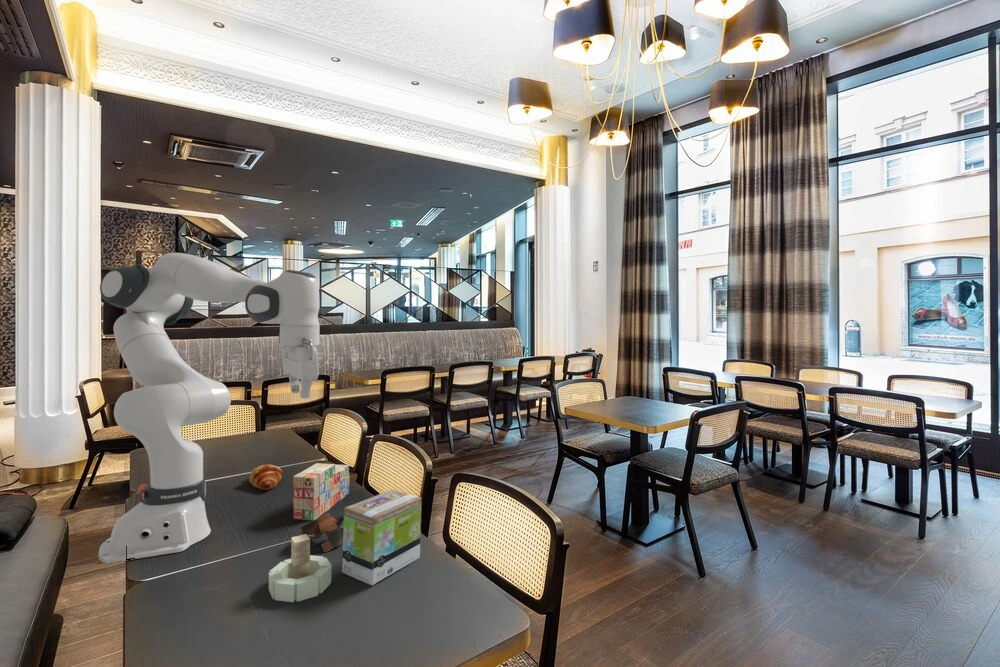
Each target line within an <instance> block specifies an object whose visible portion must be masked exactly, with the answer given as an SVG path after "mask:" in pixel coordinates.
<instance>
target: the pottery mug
mask: <svg viewBox="0 0 1000 667" xmlns="http://www.w3.org/2000/svg"><path fill="white" fill-rule="evenodd" d="M342 522H344V514H343V515H339V516H338V517H332V516H331V513H329V512H328V513H326V514H325V513H324V514H322V515H321V516H319V517H318V518H317V519H315V520H313V521H311V520H310V521H309V522H308V523H306V524H304V525H302V526H301V527H300V530H301V534H300V535H304V534H307V536H315V537H316V538H319V537H322V535H323V534H325V535H326V537H327V538H328V539H327V540H326V541H325V542H323V543H321V544H320V546H321V549H322V551H323V553H327V552H329V551H331V550H333V549H335V548H338V547H340V546H342V545H343V527H341V525H342Z"/></svg>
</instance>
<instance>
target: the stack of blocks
mask: <svg viewBox="0 0 1000 667" xmlns="http://www.w3.org/2000/svg"><path fill="white" fill-rule="evenodd" d="M292 477H293V478H292V480H293V481H292V482H293V484H292V485H293V488H292V500H293V501H292V502H293V505H292V506H293V509H292V513H293V514H292V515H293V516H292V518H293V520H302V521H310V522H311V521H313V520H315V519H318V518H319V517H321V516H323V515H324V514H325V513H326V512H328V511H329V510H330V509H331V508H333V507H334V506H335V505H336V504H337V503H339V502H340V501H342V500H343V499H344V498H345V497H347V496H348V495H349V494H350V465H348V464H336V463H335V464H334V463H318V462H316V463H315V464H312V465H311V466H309V467H307V468H305V469H304V470H303V471H300V472H298V473H297V474H295V475H293V476H292ZM346 495H347V496H346ZM338 501H339V502H338Z"/></svg>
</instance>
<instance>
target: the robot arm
mask: <svg viewBox="0 0 1000 667" xmlns="http://www.w3.org/2000/svg"><path fill="white" fill-rule="evenodd" d="M99 291H100V296H101V298H102V299H103V301H105V302H106V303H108V304H109V305H111V306H114V307H116V308H119V309H125V310H127V313H124V314H122V315H120V316H119V317H118V318H117V319H116V321H114V324H113V334H114V339H115V343H116V345H117V349H118V351H119V353H120V355H121V357H122V360H123V361H124V363H125V365H126V368H127V369H128V371H129V374H130V375H131V377H132V379H134V381H136V382H137V383H138V384H140V385H142V386H143V387H140V388H139V387H138V388H136V389H132V390H130V391H126V392H123V393H121V395H120V396H119V397H118V398H117V401H115V405H114V408H113V417H114V421H115V423H116V424H117V425H118V427H120V429H121V430H123V431H124V432H126V433H128V434H130V435H132V436H134V437H135V438H136V439H138V440H139V441H140V442H141V444H142V445H143V447H144V448H145V450H146V453H147V455H148V461H149V462H148V463H149V479H150V482H149V484H147V483H142V484H140V485H139V486H138V488H137V489H138V490H137V491H138V493H139V501H140V502H138V503H137V504H136V505H135V506H133V507H132V508H131V509H130V510H128V511H127V512H126V513H124V514H123V515H121V516H120V517H119V518H118V519H117V521H116V522H115V524H114V525H113V527H112V530H111V534H110V537H109V538H107V539H106V540H105V541H103V543H102V544H100V547H99V549H98V553H97V554H98V555H97V557H98V559H99V561H100V562H102V563H104V564H111V563H112V564H113V563H117V562H118V563H119V562H123V561H127V560H126V546H127V559H128V558H129V559H130V558H135V559H134V560H136V559H144V558H150V557H156V556H161V555H169V554H174V553H179V552H183V551H185V550H186V549H188V548H190V546H192V545H194V544H196V543H198V542H200V541H202V540H204V539H205V538H207V537H208V536H209V535H210V534H211V532H212V529H211V527H210V523H209V520H208V517H207V512H206V505H205V500H206V496H207V494H206V493H207V486H206V485H207V484H206V483H207V482H206V479H205V477H204V451H203V449H202V447H201V446H200V444H198V443H196V442H195V441H191V440H188V439H184V438H183V437H182V433H181V428H182V427H188V426H192V425H197V424H204V423H208V422H210V421H212V420H216V419H218V418H220V417H223V416H225V414H227V412H228V411H229V409H230V406H231V403H232V399H231V398H232V396H231V393H230V391H229V389H228V387H227V386H226V385H225V384H224V383H222V382H220V381H217V380H214V379H211V378H210V377H207V376H205V375H203V374H201V373H200V372H198V371H197V370H195V369H194V368H192V367H191V366H190V365H189V364H187V362H186V361H184V360H183V358H182V357H181V356H180V354H179V353H178V351H177V349H176V348H175V346H174V344H173V342H172V341H171V339H170V337H169V336H168V334H167V332H166V330H165V327H164V326H171V325H173V324H176V323H177V321H178V320H180V319H182V318H183V317H185V316H186V315H187V314H188V313H189V312H191V309H192V307H193V305H194V300H195V301H201V302H207V303H209V302H210V303H214V302H215V303H244V305H245V306H244V308H245V311H246V313H247V316H248V317H249V318H250V319H251V320H252V321H253V322H256V323H260V324H265V325H266V324H268V325H271V324H272V325H278V324H279V335H278V344H279V346H280V352H281V364H282V370H283V372H284V373H285V374H287V375H288V379H289V385H290V392H291V393H293V394H298V393H299V394H300V396H299V397H300V398H302V399H303V400H304V399H309V398H310V395H311V392H310V391H311V387H312V383H313V382H312V381H317V380H318V378H319V375H320V373H319V372H320V371H319V354H318V349H317V347H315V346H319V345H320V327H321V326H320V321H319V311H320V309H321V308H320V305H321V304H320V302H321V301H320V288H319V282H318V279H317V277H316V276H315V275H313V273H309V272H305V271H301V270H300V271H299V270H294V269H287V270H286V269H285V270H283V271H282V272H281V274H279V276H277V277H276V278H274V279H272V280H270V281H268V282H265V281H264V282H263V281H260V280H258V279H255V278H252V277H249V276H247V275H245V274H242V273H239V272H237V271H235V270H232V269H231V268H228V267H226V266H223V265H222V264H219V263H217V262H215V261H212V260H210V259H207V258H204V257H201V256H197V255H194V254H191V253H190V254H188V253H182V252H168V253H165V254H163V255H161V256H160V257H159V258H158V259H157V260H156V262H155V264H154V265H153V266H152V267H150V268H147V267H145V266H144V265H143V264H141V263H139V264H134V265H131V266H129V265H128V266H118V267H115V268H112V269H111V270H109V271H107V272H106V273H105V274H104V275H103V277H102V278H101V281H100V284H99ZM299 381H300V382H299Z"/></svg>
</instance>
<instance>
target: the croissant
mask: <svg viewBox="0 0 1000 667" xmlns="http://www.w3.org/2000/svg"><path fill="white" fill-rule="evenodd" d="M283 474H284V471H283V470H282V469H281V468H280V467H279V466H277V465H273V464H262V465H261V464H260V465H258V466H256V467H255V468H254V469H252V470H251V471H250V474H249V478H248V482H249V483H250V484H251V485H252V487H253V488H256V489H259V490H263V491H268V490H271V489H274V488H276V487H277V485H278V484H280V482H281V479H282V477H283Z"/></svg>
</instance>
